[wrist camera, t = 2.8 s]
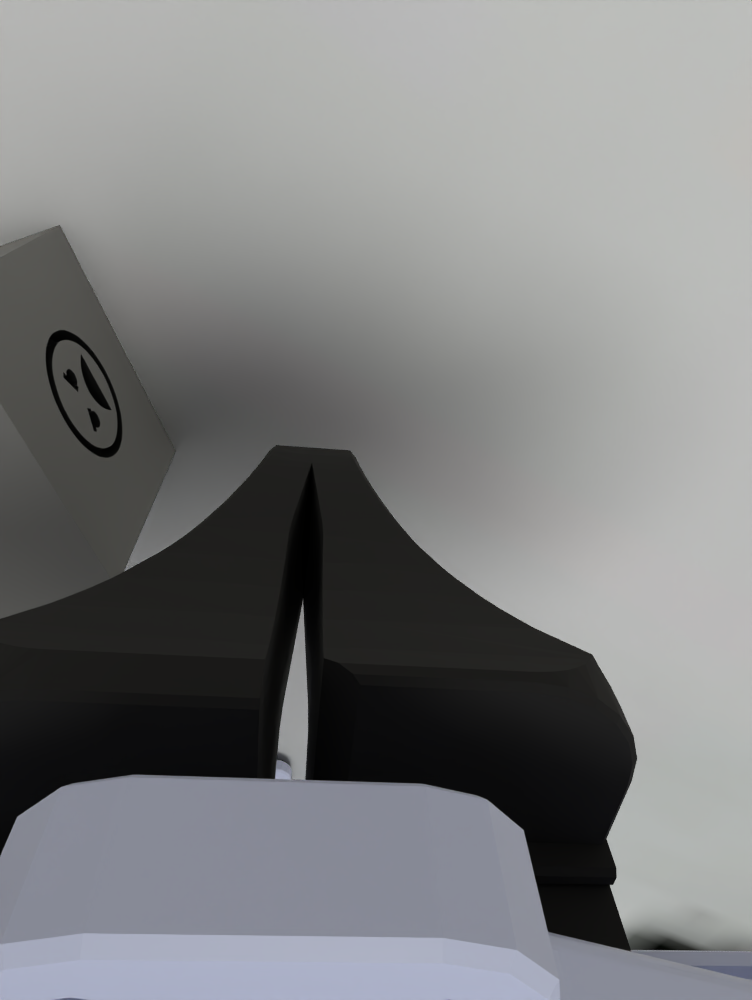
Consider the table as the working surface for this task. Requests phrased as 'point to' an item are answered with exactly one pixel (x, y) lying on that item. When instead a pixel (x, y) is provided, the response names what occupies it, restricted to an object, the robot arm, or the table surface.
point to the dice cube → (67, 431)
